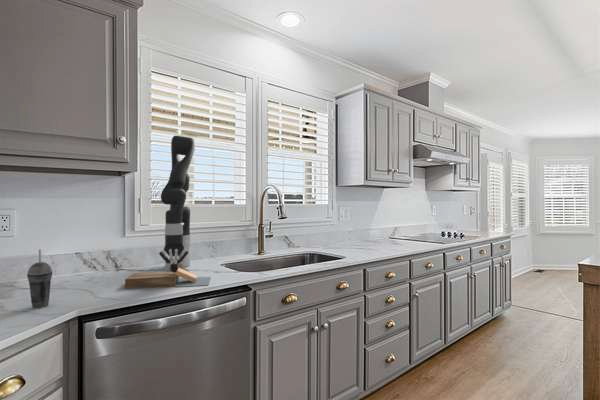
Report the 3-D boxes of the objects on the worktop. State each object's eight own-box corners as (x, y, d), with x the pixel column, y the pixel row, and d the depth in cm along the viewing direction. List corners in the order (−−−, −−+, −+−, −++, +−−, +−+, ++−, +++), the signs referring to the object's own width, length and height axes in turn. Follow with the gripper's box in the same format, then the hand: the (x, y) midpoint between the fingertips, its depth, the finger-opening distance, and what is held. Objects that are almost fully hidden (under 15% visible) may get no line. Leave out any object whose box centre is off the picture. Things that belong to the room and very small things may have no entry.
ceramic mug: (169, 276, 168) (169, 260, 168) (164, 273, 175) (164, 258, 175) (191, 274, 175) (191, 258, 175) (185, 271, 181) (185, 256, 181)
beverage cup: (26, 311, 118) (26, 252, 117) (27, 306, 123) (27, 249, 123) (53, 307, 122) (52, 250, 122) (52, 302, 128) (52, 247, 128)
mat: (180, 278, 164) (180, 278, 164) (210, 277, 167) (210, 276, 167) (174, 287, 148) (174, 286, 148) (208, 285, 151) (208, 284, 151)
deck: (133, 281, 158) (133, 273, 158) (179, 279, 162) (179, 271, 162) (125, 288, 146) (125, 279, 146) (175, 286, 150) (175, 276, 150)
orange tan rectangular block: (177, 271, 159) (179, 267, 159) (195, 279, 161) (197, 275, 161) (174, 274, 153) (177, 270, 153) (194, 282, 155) (196, 278, 155)
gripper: (190, 232, 161) (190, 269, 161) (160, 233, 158) (160, 271, 158) (188, 233, 153) (188, 273, 153) (156, 234, 151) (156, 274, 151)
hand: (174, 272), depth 156 cm, fingers closed
